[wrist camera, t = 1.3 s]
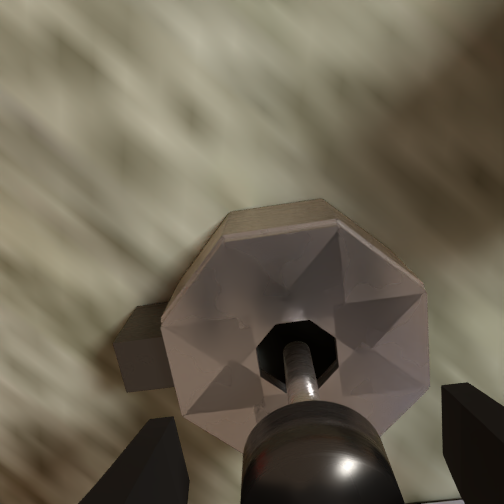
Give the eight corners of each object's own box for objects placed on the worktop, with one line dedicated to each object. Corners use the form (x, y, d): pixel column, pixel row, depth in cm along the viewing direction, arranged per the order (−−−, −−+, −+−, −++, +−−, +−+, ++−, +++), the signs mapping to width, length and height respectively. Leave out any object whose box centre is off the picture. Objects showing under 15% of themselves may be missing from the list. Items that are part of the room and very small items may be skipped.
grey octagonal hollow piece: (399, 382, 18) (434, 449, 15) (165, 410, 19) (142, 480, 15) (388, 188, 16) (428, 210, 12) (119, 228, 17) (78, 259, 13)
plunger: (349, 388, 14) (410, 576, 8) (256, 398, 15) (252, 590, 9) (340, 302, 13) (403, 448, 8) (241, 315, 14) (226, 467, 8)
